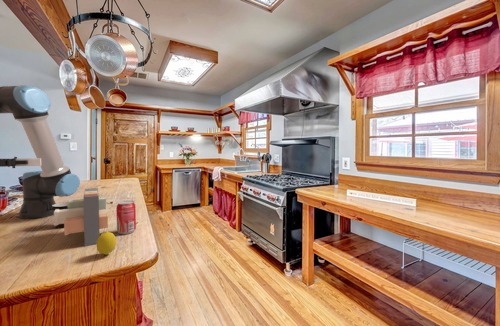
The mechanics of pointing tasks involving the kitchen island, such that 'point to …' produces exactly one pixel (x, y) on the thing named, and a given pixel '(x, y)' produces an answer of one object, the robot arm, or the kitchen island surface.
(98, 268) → the kitchen island surface
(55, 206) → the coffee mug
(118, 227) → the soda can
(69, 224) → the terracotta key
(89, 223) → the key panel
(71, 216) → the ivory key
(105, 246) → the lemon
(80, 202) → the sage key
